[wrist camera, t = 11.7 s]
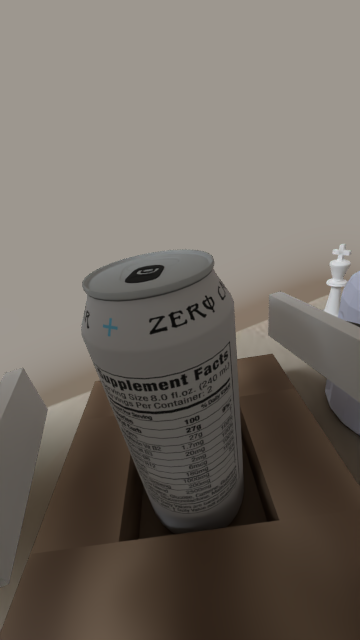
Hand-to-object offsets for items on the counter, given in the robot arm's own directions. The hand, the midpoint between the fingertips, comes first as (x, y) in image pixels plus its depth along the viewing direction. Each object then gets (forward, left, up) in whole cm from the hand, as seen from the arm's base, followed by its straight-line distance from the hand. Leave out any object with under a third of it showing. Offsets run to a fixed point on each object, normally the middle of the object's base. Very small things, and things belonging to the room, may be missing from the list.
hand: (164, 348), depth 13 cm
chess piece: (+19, +15, -11) cm, 27 cm away
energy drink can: (0, -2, -10) cm, 10 cm away
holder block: (0, -2, -11) cm, 11 cm away
